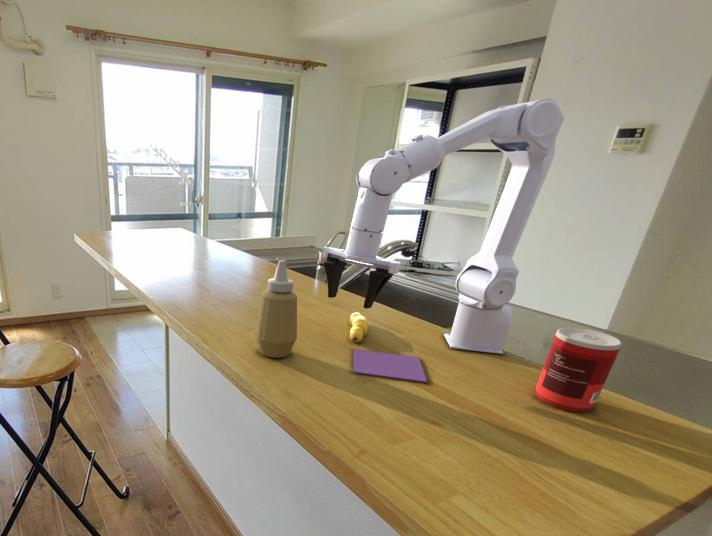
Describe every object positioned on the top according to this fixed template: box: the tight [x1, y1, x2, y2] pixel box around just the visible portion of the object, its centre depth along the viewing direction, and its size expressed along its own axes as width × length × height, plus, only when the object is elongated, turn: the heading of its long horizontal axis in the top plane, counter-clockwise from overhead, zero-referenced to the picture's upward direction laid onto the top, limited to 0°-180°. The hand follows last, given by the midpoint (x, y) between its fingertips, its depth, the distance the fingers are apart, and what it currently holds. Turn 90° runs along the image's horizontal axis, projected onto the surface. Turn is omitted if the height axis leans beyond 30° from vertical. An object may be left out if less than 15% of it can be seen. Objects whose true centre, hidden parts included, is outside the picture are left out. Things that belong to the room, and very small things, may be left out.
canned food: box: [535, 327, 622, 413], centre depth 66 cm, size 8×8×11 cm
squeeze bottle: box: [254, 259, 298, 359], centre depth 80 cm, size 8×8×18 cm
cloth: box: [353, 348, 428, 384], centre depth 79 cm, size 12×11×1 cm
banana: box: [349, 311, 369, 343], centre depth 95 cm, size 4×17×3 cm, turn 163°
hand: (349, 302), depth 83 cm, fingers open, 7 cm apart
